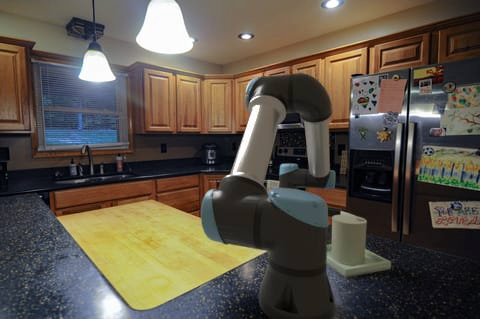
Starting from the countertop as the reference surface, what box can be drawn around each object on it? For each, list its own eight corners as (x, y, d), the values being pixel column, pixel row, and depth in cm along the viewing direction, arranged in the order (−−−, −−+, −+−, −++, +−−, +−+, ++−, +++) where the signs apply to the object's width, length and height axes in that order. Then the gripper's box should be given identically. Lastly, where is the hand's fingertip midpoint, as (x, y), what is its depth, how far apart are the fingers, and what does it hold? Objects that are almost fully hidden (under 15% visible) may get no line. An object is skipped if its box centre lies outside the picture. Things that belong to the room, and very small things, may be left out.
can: (369, 267, 68) (371, 223, 67) (332, 264, 70) (334, 220, 69) (360, 253, 77) (362, 214, 76) (328, 250, 79) (329, 212, 78)
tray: (345, 277, 64) (345, 269, 64) (310, 253, 78) (310, 247, 78) (390, 269, 69) (391, 261, 68) (350, 247, 83) (350, 241, 83)
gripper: (327, 213, 102) (369, 230, 82) (270, 218, 94) (301, 238, 74) (327, 195, 102) (370, 207, 82) (270, 198, 94) (302, 213, 74)
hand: (337, 222), depth 78 cm, fingers open, 13 cm apart
